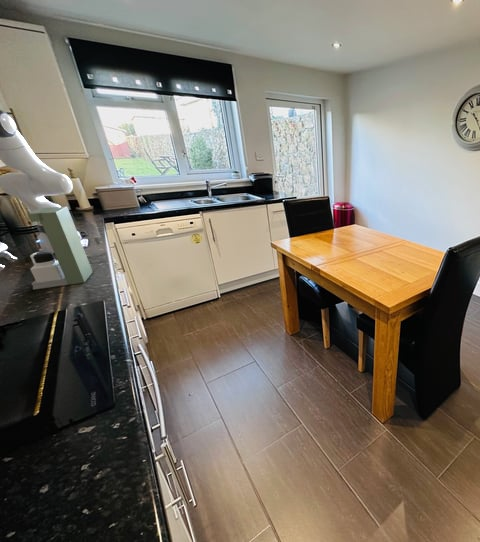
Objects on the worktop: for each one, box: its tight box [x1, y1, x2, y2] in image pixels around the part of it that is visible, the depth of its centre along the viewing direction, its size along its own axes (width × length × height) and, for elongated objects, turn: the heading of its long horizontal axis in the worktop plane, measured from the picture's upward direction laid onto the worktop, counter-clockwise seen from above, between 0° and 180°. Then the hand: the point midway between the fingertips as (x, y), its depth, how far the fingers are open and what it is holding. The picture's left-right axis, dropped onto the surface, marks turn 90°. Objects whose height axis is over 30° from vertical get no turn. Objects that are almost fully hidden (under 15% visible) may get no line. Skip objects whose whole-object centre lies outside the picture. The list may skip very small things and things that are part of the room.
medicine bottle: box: [29, 251, 65, 282], centre depth 112 cm, size 7×7×12 cm
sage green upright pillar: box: [27, 206, 93, 291], centre depth 111 cm, size 12×15×29 cm
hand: (9, 264), depth 107 cm, fingers open, 8 cm apart
